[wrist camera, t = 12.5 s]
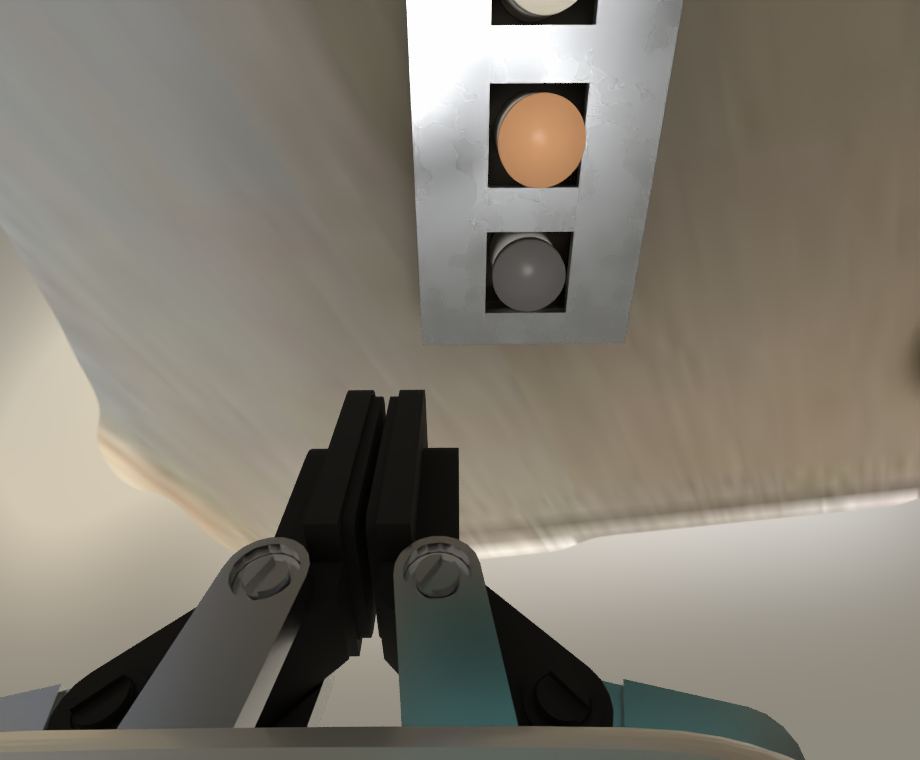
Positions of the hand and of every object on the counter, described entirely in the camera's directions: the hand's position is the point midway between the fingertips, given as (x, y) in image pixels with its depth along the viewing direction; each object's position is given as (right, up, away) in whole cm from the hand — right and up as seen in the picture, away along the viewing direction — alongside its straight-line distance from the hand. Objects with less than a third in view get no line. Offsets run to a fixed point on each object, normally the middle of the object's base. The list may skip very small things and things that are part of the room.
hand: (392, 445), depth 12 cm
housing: (+6, +18, +23) cm, 30 cm away
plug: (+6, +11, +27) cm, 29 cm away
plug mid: (+6, +17, +21) cm, 28 cm away
